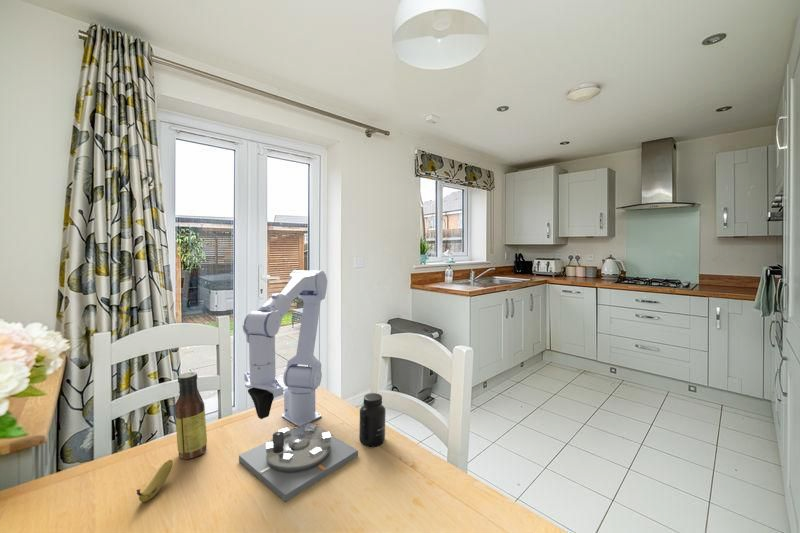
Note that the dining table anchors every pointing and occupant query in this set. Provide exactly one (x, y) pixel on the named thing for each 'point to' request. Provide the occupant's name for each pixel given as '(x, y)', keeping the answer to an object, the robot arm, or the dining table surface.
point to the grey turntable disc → (298, 448)
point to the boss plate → (296, 482)
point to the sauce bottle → (190, 418)
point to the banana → (156, 482)
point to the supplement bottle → (372, 421)
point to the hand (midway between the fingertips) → (263, 416)
